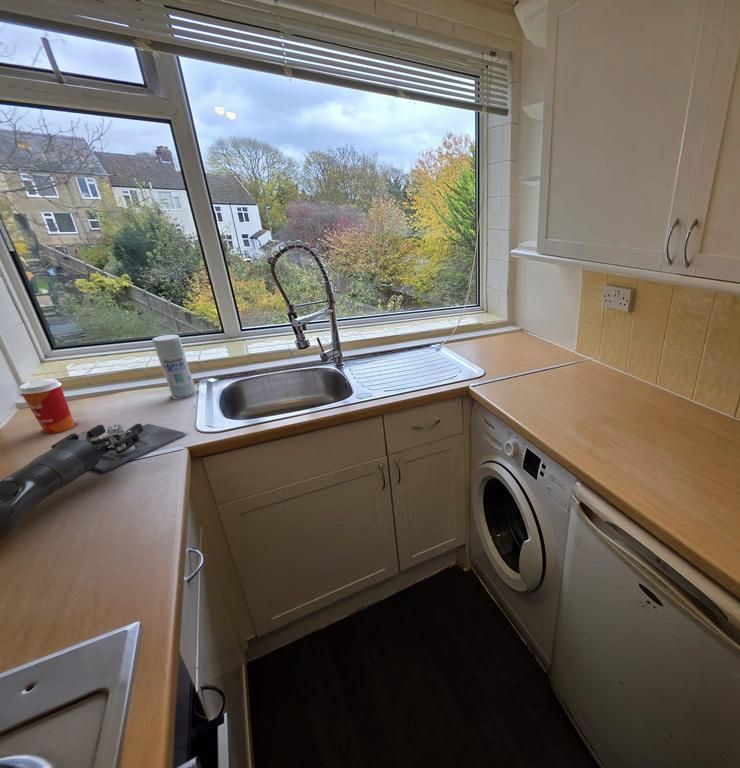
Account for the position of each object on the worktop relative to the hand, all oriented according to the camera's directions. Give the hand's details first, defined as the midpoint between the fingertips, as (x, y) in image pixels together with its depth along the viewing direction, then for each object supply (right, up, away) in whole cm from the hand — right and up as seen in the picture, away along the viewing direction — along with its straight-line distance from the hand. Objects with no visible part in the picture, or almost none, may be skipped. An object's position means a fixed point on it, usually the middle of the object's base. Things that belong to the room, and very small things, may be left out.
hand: (121, 427), depth 100 cm
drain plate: (-1, -6, +3) cm, 7 cm away
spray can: (-10, +6, +32) cm, 35 cm away
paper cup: (-28, -2, +11) cm, 30 cm away
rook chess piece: (0, -7, +1) cm, 7 cm away
